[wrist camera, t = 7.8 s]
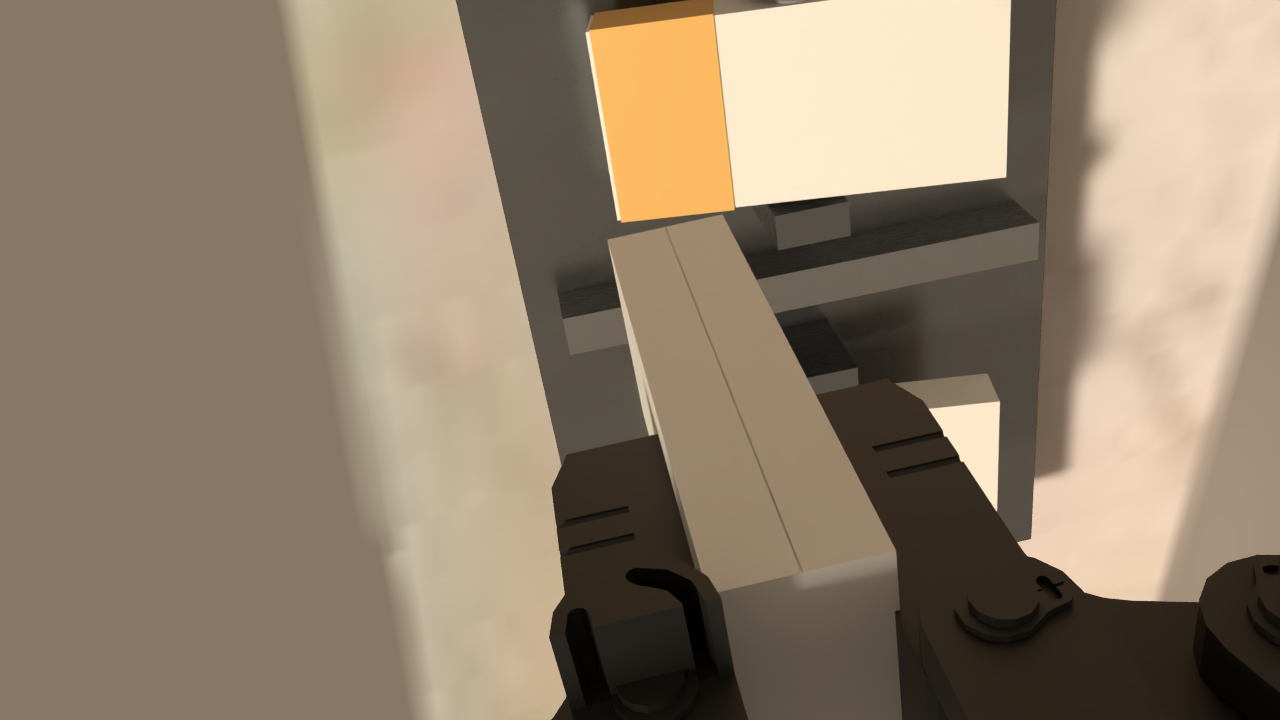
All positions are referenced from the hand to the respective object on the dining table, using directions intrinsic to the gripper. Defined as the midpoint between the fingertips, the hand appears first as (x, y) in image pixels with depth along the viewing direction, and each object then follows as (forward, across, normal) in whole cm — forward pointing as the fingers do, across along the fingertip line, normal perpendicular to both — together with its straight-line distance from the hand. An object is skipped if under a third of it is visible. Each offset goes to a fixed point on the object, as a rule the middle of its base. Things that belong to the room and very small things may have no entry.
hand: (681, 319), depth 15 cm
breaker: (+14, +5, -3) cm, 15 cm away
